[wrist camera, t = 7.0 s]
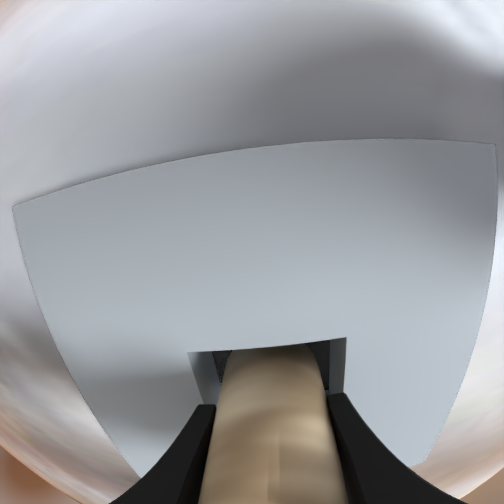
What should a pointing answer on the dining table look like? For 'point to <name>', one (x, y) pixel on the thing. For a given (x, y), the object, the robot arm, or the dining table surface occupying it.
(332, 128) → the dining table surface
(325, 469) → the peg
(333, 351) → the socket block
